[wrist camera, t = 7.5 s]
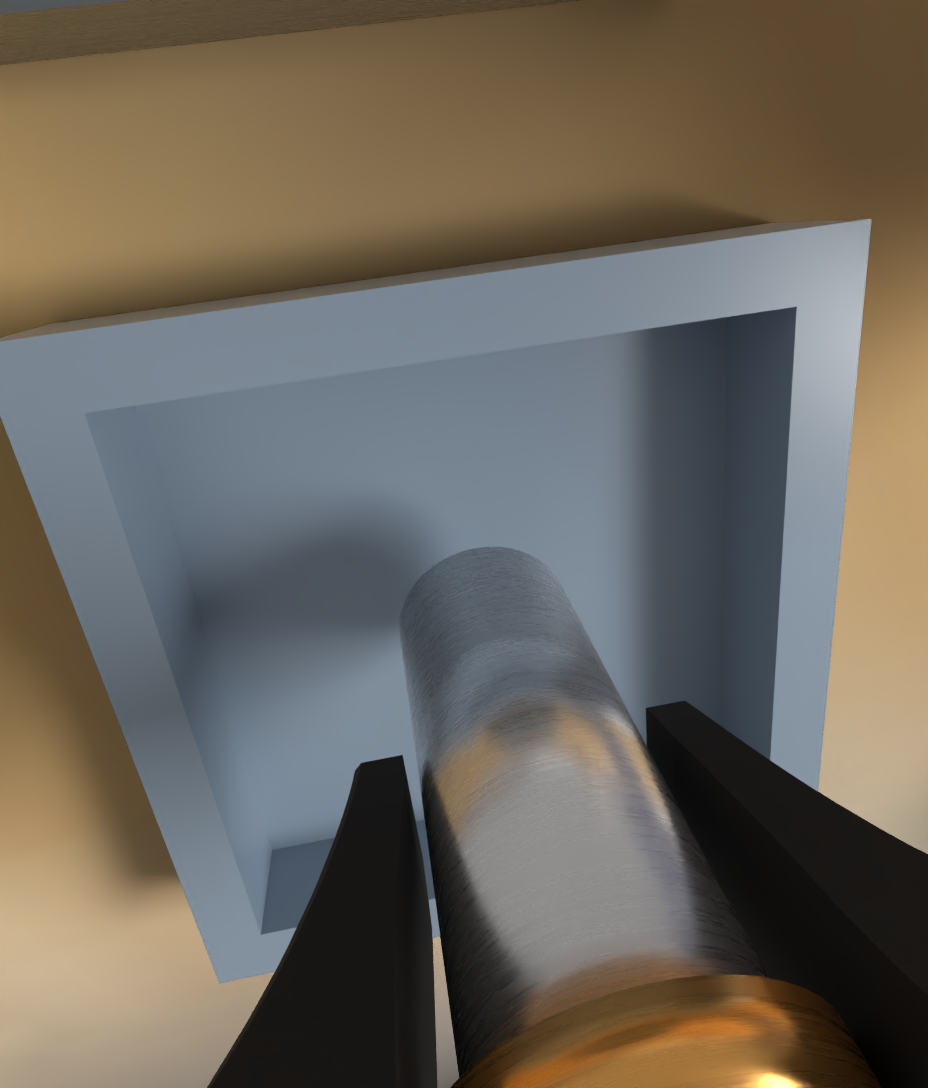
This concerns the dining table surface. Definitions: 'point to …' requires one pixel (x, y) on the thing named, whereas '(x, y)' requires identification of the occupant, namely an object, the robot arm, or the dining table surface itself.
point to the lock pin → (578, 866)
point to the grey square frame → (193, 21)
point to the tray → (438, 514)
